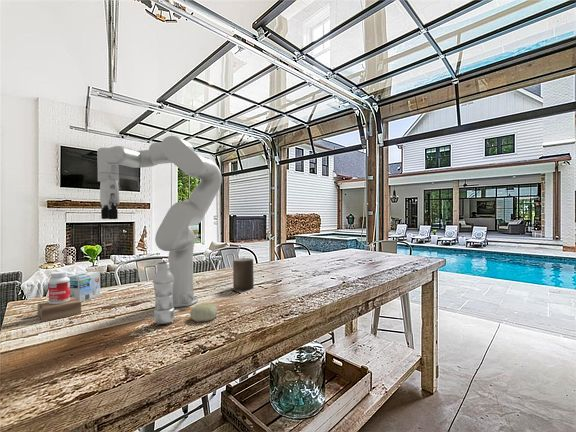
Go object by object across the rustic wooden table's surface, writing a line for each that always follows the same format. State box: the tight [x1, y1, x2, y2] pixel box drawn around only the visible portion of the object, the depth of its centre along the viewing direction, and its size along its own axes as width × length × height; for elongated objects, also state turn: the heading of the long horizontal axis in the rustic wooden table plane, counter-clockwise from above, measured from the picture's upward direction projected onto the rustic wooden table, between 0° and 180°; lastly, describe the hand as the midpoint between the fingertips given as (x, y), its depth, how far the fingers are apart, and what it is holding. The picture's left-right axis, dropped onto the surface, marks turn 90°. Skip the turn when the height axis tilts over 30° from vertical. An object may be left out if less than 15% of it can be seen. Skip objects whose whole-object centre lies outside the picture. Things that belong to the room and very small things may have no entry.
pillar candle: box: [232, 257, 255, 291], centre depth 139 cm, size 10×10×15 cm
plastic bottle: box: [152, 261, 176, 325], centre depth 96 cm, size 6×7×20 cm
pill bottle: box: [48, 270, 70, 304], centre depth 106 cm, size 6×6×11 cm
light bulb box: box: [67, 270, 101, 303], centre depth 125 cm, size 11×7×11 cm, turn 168°
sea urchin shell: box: [189, 302, 218, 323], centre depth 100 cm, size 9×8×8 cm
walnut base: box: [36, 297, 82, 323], centre depth 106 cm, size 11×11×4 cm
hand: (109, 219), depth 122 cm, fingers open, 9 cm apart
